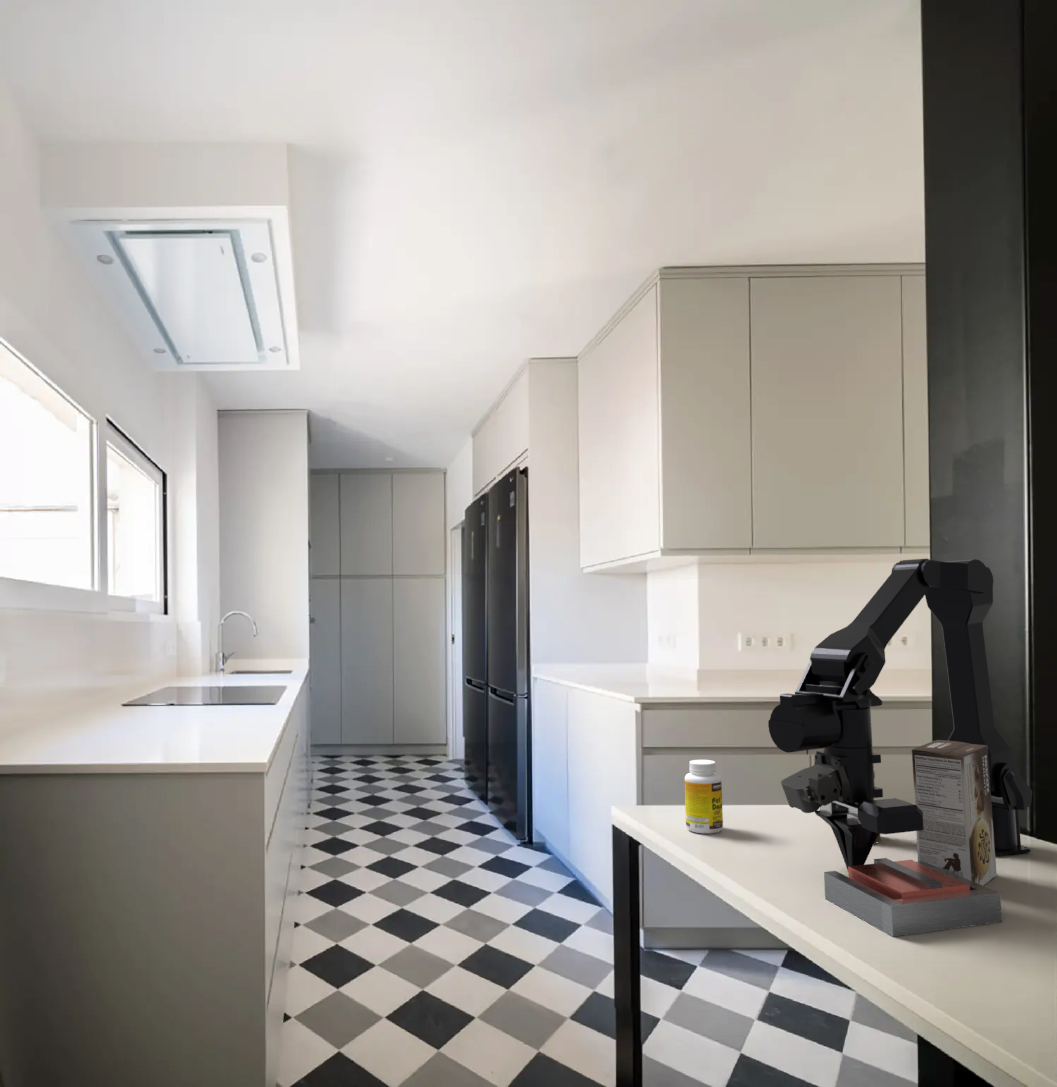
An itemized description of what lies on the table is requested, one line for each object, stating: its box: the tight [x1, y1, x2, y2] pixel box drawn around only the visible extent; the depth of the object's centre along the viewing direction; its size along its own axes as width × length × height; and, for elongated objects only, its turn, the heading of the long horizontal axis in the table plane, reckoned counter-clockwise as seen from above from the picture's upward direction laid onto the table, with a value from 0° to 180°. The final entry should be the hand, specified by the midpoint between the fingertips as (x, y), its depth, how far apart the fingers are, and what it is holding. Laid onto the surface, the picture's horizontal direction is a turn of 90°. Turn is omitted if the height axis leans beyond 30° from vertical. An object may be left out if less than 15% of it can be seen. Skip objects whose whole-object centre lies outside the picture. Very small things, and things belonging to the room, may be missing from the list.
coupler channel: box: [823, 860, 1003, 938], centre depth 90 cm, size 14×12×3 cm
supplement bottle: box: [684, 759, 724, 835], centre depth 124 cm, size 6×6×10 cm
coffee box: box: [911, 739, 997, 886], centre depth 100 cm, size 9×6×16 cm
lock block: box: [847, 857, 970, 900], centre depth 90 cm, size 8×9×4 cm
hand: (854, 873), depth 99 cm, fingers closed
